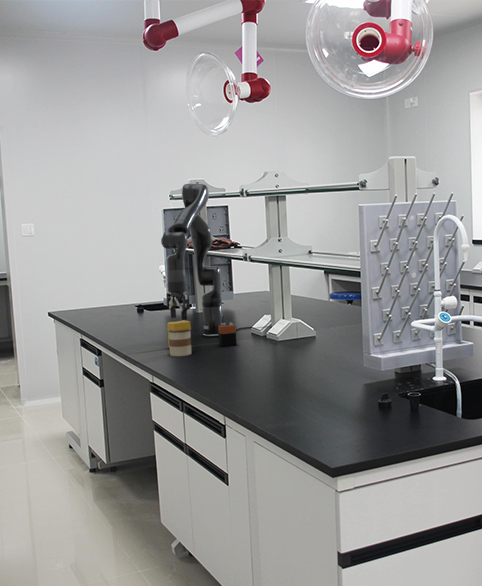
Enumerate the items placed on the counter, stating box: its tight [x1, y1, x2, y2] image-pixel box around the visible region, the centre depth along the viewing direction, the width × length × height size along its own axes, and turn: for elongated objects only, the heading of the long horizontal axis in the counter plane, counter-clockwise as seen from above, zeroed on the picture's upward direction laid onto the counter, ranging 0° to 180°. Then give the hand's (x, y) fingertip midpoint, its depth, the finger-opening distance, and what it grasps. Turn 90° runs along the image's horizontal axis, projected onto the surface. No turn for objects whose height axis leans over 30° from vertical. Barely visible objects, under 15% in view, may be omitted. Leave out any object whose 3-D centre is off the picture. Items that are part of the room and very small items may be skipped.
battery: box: [218, 322, 237, 348], centre depth 310 cm, size 4×7×10 cm, turn 116°
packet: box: [167, 320, 192, 331], centre depth 293 cm, size 8×5×3 cm, turn 132°
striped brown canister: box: [168, 328, 193, 357], centre depth 294 cm, size 10×10×11 cm
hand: (178, 318), depth 293 cm, fingers open, 8 cm apart
